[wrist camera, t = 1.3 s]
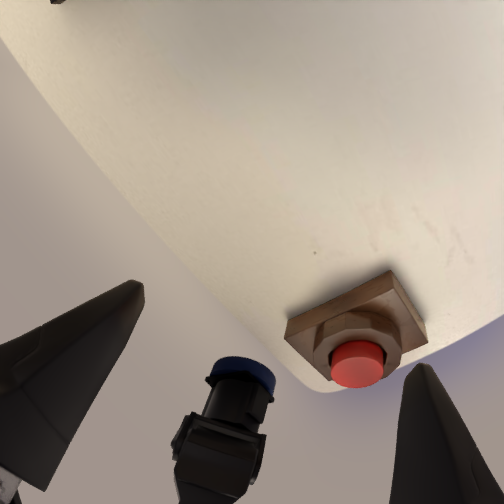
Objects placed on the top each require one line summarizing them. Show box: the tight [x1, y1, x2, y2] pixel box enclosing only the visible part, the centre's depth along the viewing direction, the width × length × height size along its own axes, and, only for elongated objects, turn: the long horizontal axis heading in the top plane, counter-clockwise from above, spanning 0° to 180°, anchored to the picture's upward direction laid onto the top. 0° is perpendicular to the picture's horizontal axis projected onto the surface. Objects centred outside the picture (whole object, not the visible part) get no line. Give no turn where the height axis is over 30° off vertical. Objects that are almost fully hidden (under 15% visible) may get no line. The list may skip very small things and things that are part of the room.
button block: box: [284, 270, 428, 381], centre depth 24 cm, size 10×7×4 cm
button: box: [331, 340, 384, 388], centre depth 22 cm, size 4×4×2 cm
